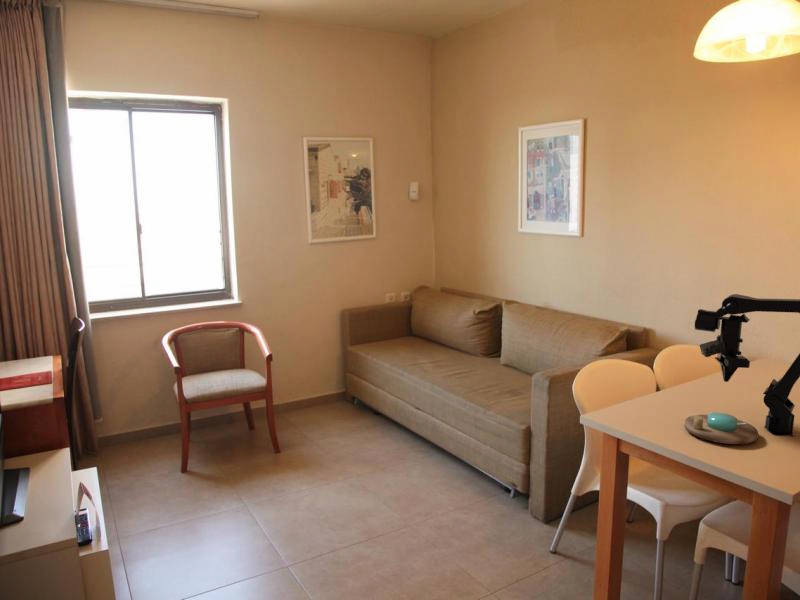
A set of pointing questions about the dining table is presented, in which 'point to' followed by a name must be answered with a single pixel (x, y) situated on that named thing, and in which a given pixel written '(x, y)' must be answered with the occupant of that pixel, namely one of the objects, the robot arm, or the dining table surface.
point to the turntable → (739, 436)
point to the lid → (722, 422)
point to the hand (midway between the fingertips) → (725, 381)
